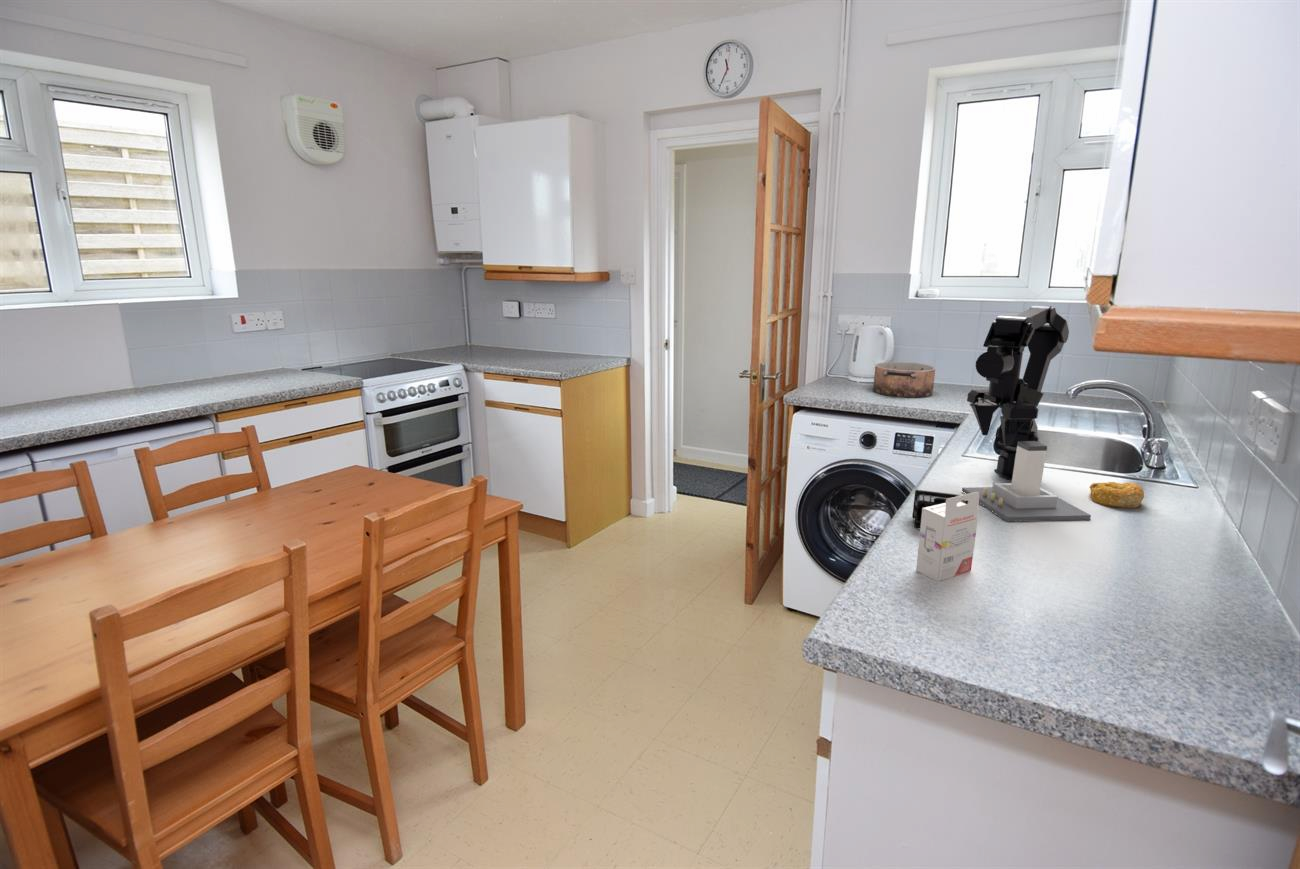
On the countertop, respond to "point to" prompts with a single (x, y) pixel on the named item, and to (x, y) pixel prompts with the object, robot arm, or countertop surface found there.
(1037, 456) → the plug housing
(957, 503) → the ink cartridge box
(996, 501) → the header dock
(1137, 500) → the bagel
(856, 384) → the countertop surface
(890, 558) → the countertop surface
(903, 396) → the cooking pot
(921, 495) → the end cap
